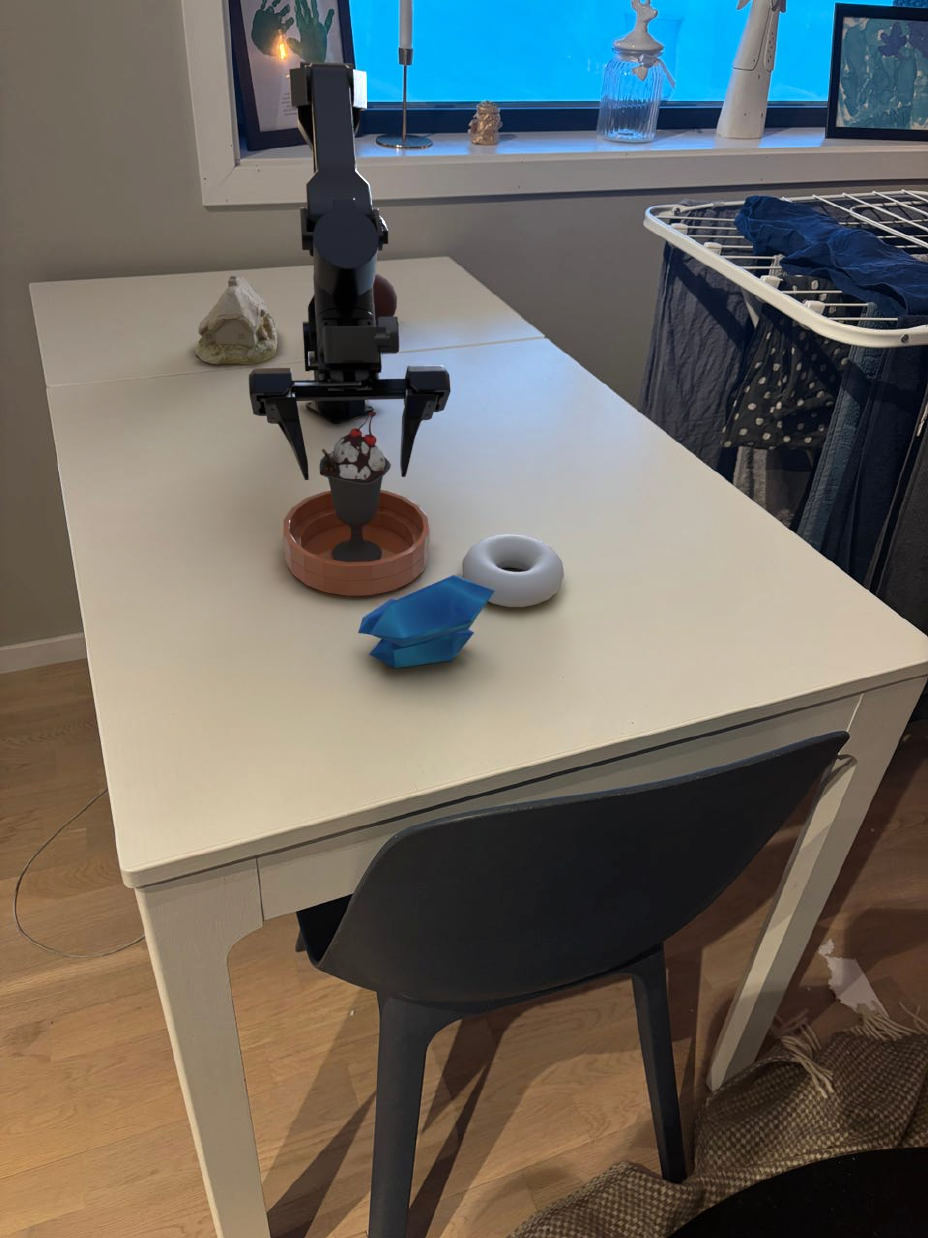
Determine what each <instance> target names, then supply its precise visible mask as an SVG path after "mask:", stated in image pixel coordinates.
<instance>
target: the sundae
mask: <svg viewBox="0 0 928 1238" xmlns="http://www.w3.org/2000/svg"><path fill="white" fill-rule="evenodd" d="M367 415H368V416H367V417H366V419H365V421H364V422H363V423H362V424H361V425H360V426H359V427H358V428H357V427H356V428H355V427H354V428H352V429H351V430H350V431H349V433H348V434H347V435H344V436H343V437H340V439H338V441H337V442H336V443H335V444H334V445H333V446H334V447H333V450H332V451H331V452H329V453H328V451H327V450H326V449H325V448H322V449H321V451H322V453H323V455H324V456H323V457H322V458H321V459H320V461H319V468H318V469H319V475H320V476H323V477H324V478H327V480H328V483H329V488H330V490H331V494H332V500H333V505H334V508H335V512H336V515H337V517H338V518H339V519H340V520H341V521H342V522H343V523H345V524H347V525H349V526H350V527H351V538H350V540H346V541H343V542H341V543H339V544H338V545H337V546H336V547H335V548H334V549H333V552H332V556H333V558H334V559H335V560H337V561H343V562H371V561H376V560H379V559H380V557H381V555H382V551H381V549H380V547H379V546H378V545H377V544H375V543H373V542H371V541H367V540H364V539H363V526H364V525H366V524H368V523H369V522H370V521H371V520H372V519H373V518H374V517H375V516H376V512H377V508H378V504H379V497H380V490H382V484H383V479H384V476H385V475H386V474H388V472H389V471H390V469H391V467H392V464H391V462H390V461H389V460H388V459H387V458H386V456H385V455H384V453H383V451H382V450H381V449H380V447H378V446H377V445H376V444H377V441H378V440H377V437H376V436H375V435H373V433H372V430H371V425H372V420H373V418H374V417H375V416H376V415H377V412H376V411H373V412H369V413H368V414H367ZM370 416H371V417H370ZM369 418H370V420H369V423H368V433H367V434H365V435H364V436H363V432H362V431H361V429H362V428H363V427H364V426H365V425H366V423H367V421H368V419H369Z"/></svg>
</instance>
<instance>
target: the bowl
mask: <svg viewBox="0 0 928 1238" xmlns="http://www.w3.org/2000/svg"><path fill="white" fill-rule="evenodd" d="M422 509H423V508H421V507H420V505H418V504H417V503H415V502H414V501H412V500H410V499H409V498H407V497H406V496H403V495H400V494H397V493H394V492H391V491H388V490H384V489H381V490H380V497H379V504H378V508H377V512H376V516H375V517H374V518H373V519H372V520H371V521H370V522H369V523H368V524H366V525H364V526H363V539H364V540H367V541H371V542H373V543H375V544H377V545H378V546H379V547H380V549H381V551H382V555H381V557H380V559H379V560H376V561H371V562H343V561H337V560H335V559H334V558H333V556H332V552H333V549H334V548H335V547H336V546H337V545H338V544H339V543H341V542H343V541H346V540H350V538H351V527H350V526H349V525H347V524H345V523H343V522H342V521H341V520H340V519H339V518H338V517H337V515H336V512H335V508H334V505H333V500H332V494H331V489H330V490H326V491H325V490H324V491H321V492H319V493H316V494H314V495H311V496H307V497H306V498H304V499H302V500H301V501H299V502H298V503H297V504H295V505H294V506H292V507H291V508H290V510H289V511H288V512H287V514H286V516H285V517H284V519H283V527H282V529H283V530H282V535H283V549H284V559H285V560H284V562H285V563H286V565H287V567H288V569H289V570H290V573H291V574H292V575H293V576H294V577H296V579H298V580H299V581H300V582H302V583H303V584H304V585H306V586H308V587H311V588H313V589H316V590H318V591H320V592H323V593H328V594H334V595H341V596H348V597H353V596H354V597H357V596H374V595H378V594H382V593H387V592H392V591H395V590H397V589H399V588H402V587H404V586H405V585H408V584H409V583H412V582H413V581H414V580H415V579H416V578H417V577H418V576H419V575H421V574H422V573H423V571H425V568H426V566H427V563H428V561H429V558H430V557H429V556H430V531H431V529H430V523H429V522H430V521H429V518H428V516H427V515H426V513H425V512H424V511H423V510H422Z"/></svg>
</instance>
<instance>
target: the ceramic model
mask: <svg viewBox="0 0 928 1238" xmlns="http://www.w3.org/2000/svg"><path fill="white" fill-rule="evenodd" d="M227 285H228V287H227V288H226V289H225V290H224V291H223V293H222V294H221V295H220V297H219V298H218V300H217V302H216V303H215V304H214V306H213V307H212V308H211V309H210V311H209V312H208V314H206V316H205V317H204V318H203V320H201V322H200V323H199V324H198V327H197V329H198V330H197V331H198V334H199V336H200V339H199V340H198V344H197V345H196V348H195V349H194V353H195V355H196V356H198V358H200V359H201V360H202V361H204V362H205V363H207V364H208V363H209V364H212V365H225V364H242V365H255V364H260V363H263V362H266V361H268V360H271V359H272V358H274V357H275V356H276V354H277V348H278V334H277V329H276V322H275V319H274V317H273V316H272V314H271V313H269V312H268V311H267V304H266V302H265V301H264V299H263V297H262V296H261V294H259V292H258V291H257V290H256V288H255V287H254V286H253V285H252V284H251V283H249V282H248V281H247V280H245V279H244V278H243V276H234V275H230V277H229V278H228V280H227Z"/></svg>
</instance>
